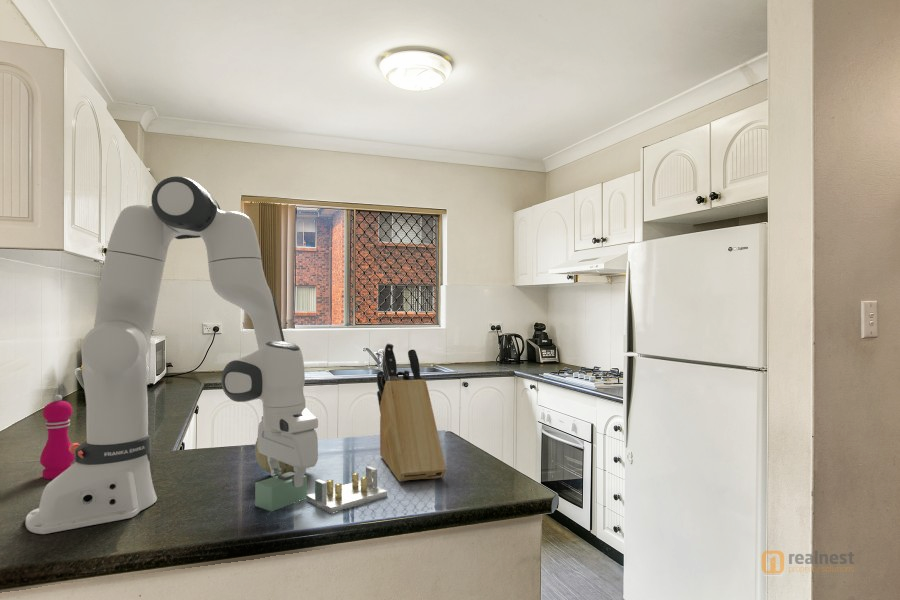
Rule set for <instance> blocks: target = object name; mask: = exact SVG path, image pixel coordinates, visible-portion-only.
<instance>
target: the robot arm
mask: <svg viewBox="0 0 900 600" xmlns="http://www.w3.org/2000/svg"><path fill="white" fill-rule="evenodd" d="M197 238H199V239H200V238H201V239H202V240H203V242H204V244H205V249H206V256H207V263H208V273H209V279H210V282H211V286H212V288H213V290H214V292H215V293H217V295H218V296H219V297H220V298H222V299H223V300H225V301H226V302H228V303H230V304H233V305H235V306H237V307H238V308H240V309H242V310H243V311H244V312H245V313H246V314H247V315H248V316H249V318H250V319H251V323H252V326H253V331H254V335H255V339H256V344H257V347H258V349H257V350H256V351H254V352H252V353H250V354H247V355H245V356H241V357H238V358H237V359H233V360H231V361H230V362H228V363H227V364H226V365H225V367H224V368H223V371H222V373H221V376H220V382H221V384H220V385H221V388H222V391H223V392H224V394H225V395H226V396H227V398H229V399H230V400H231V401H233V402H238V403H247V402H252V401H255V400H261V401H262V416H261V419H260V420H261V421H260V422H259V423H258V428H257V437H258V442H257V446H258V450H259V453H261V454H263V455H266V456H267V460H268V463H269V466H270V468H271V473H270V476H271V477H275V476H278V475H281V468H280V467H279V462H278V461H281V462H283V463H286V464H288V465H291V466H293V467H294V471H295V475H294V478H292V485H293V486H295V487H300V486H302V485H303V477H304V476H305V474H306V472H307V470H308V469H310V468H314V467H315V466H316V465H317V463H318V459H319V445H318V443H319V442H318V433H317V432H316V430H315V429H318V427H319V420H318V418H317V417H316V416H315V414H313V413H312V412H311V411H310V410H309V409H308V407H306V406H307V405H306V398H305V394H304V388H305V387H304V386H305V382H306V380H305V377H306V376H305V372H306V371H305V363H304V362H305V361H304V357H303V352H302V350H301V348H300V347H299V346H298V345H297V344H296V343H293V342H290V341H289V342H288V341H286V340H285V336H284V332H283V328H282V324H281V319H280V314H279V311H278V306H277V302H276V299H275V296H274V294H273V292H272V290H271V288H270V287H269V285H268V282H267V279H266V275H265V273H264V268H263V267H264V266H263V261H262V254H261V247H260V243H259V240H258V239H259V238H258V235H257V232H256V229H255V225H254V223H253V220H252V219H251V218H250V216H248V215H247V214H245V213H242V212H239V211H233V210H229V211H228V210H227V211H226V210H221V208H220V205H219V203H218V202H217V200H216V199H215V198H214V196H213V195H212V194H211V192H210V191H208V190H207V189H206V188H205V187H202V185H200V184H199V183H198V182H196V181H195V180H193V179H191V178H189V177H184V176H179V175H178V176H177V175H176V176H171V177H170V176H169V177H167V178H165V179H164V178H163V179H162V180H161V181H160V182H159V183H158V184H156V186H155V187H154V189H153V191H152V193H151V206H148V205H143V204H135V205H134V204H133V205H129V206H127V207H125V208H124V209H122V210H121V212H119V215H118V217H117V219H116V221H115V224H114V226H113V228H112V231H111V233H110V237H109V241H108V242H107V243H108V244H107V248H106V253H105V257H104V261H103V267H102V269H101V270H102V271H101V274H100V275H101V276H100V280H99V285H98V288H97V289H98V291H97V302H96V303H97V304H96V311H95V312H96V313H95V318H94V324H93V325H94V326H93V328H92V329H90V330H89V331H88V332H87V333H86V335H85V336H84V338H83V340H82V343H81V349H80V350H81V365H82V366H81V367H82V368H81V369H82V378H83V387H84V396H85V404H86V405H85V409H86V411H85V412H86V413H85V414H86V415H85V416H86V418H85V419H86V420H85V422H86V424H85V425H86V441H84V442H82V443H81V444H79V443H78V442H73V443H71V445H72V446H69V447H70V448H69V451H70V452H71V453H72V454H74V455H75V460H74V463H72V464H71V466H70V467H69V468H67V469H66V470H65V471H64V472H62V473H61V474H60V475H59V476H57V477H56V478H55V479H51V481H49V482H47V484H46V486H45V488H44V489H43V491H42V493H41V496H40V501H39V506H38V507H37V508H35V509H33V510H31V511H30V512H28V514H27V515H26V516H25V527H26V529H27V530H28V531H29V532H31V533H33V534H39V535H46V534H51V533H57V532H62V531H68V530H73V529H79V528H84V527H89V526H93V525H100V524H105V523H111V522H116V521H121V520H126V519H130V518H131V519H132V518H133V517H134V518H135V516H137V515H138V514H139V513H140V512H141V511H143V510H145V509H147V508H149V507H151V506H152V505H154V503H156V502H157V500H158V497H157V494H156V491H155V488H154V484H153V480H152V474H151V468H150V467H151V465H150V461H151V456H152V441H151V440H152V439H151V435H150V434H149V397H148V382H147V380H148V379H147V360H146V359H147V354H148V352H149V349H150V345H151V344H150V343H151V339H152V332H153V328H154V327H153V326H154V322H155V316H156V310H157V305H158V300H159V293H160V290H161V286H162V285H161V284H162V280H163V276H164V270H165V264H166V259H167V256H168V255H167V254H168V252H169V251H168V250H169V246H170V245H171V242H172V241H173V240H174V239H176V240H185V239H197Z"/></svg>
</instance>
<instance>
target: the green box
mask: <svg viewBox="0 0 900 600" xmlns="http://www.w3.org/2000/svg"><path fill="white" fill-rule="evenodd" d="M294 475H295V473H293V472H287V473H284V474H281V475H278V476H275V477H273V476H271V477H270V478H266V479H263V480H260V481H256V482H255V483H254V491H255V492H254V495H255V496H254V497H255V498H254V500H255V502H254V503H255V505H254V506H255V507H258V508H261V509H263V510H267V511H268V512H271V513H272V512H274V511H277V510H279V509H283V508H285V507H288V506H290V505H292V504H291V503H293V504H295V503H294V502H296V503H297V501H298V502H300V501H299V500H301V501H303V500H302V499H304V500H306V499H305V498H306V495H308V488H307V487H308V486H307V485H308V483H307V481H308V477H307V476H308V475H304V477H303V485H302V486H300V487H295V486H293V485H292V478H294ZM289 504H290V505H289ZM287 505H288V506H287ZM284 506H285V507H284Z"/></svg>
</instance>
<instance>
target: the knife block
mask: <svg viewBox="0 0 900 600" xmlns="http://www.w3.org/2000/svg"><path fill="white" fill-rule="evenodd" d="M407 356H408V361H409V366H410V370H411V373H412V376H413V379H411V377H410V371H409V370H404V371H398V370H397V367H398V366H397V360H396V356H395V353H394V345H393V344H392V343H386V345H385V347H384V352H383V356H382V357H383V358H382V371H380V370H379V371H377V374H376V386H377V388H378V391H376V397H377V401H378V407H379V413H380V414H379V415H380V416H379V428H380V429H379V452H380V453H379V454H380V457H381V458H382V459H383V461H384V462H385V463H386V465H387V466H388V468H389V469H390V470H391V472H392V474H393V475H394V477H395V478H396V479H397V480H398V482H406V481H411V480H415V481H416V480H427V479H428V480H429V479H438V478H443V477H444V476H445V474H446V473H447V468H446V465H445V460H444V455H443V451H442V445H441V441H440V437H439V432H438V428H437V425H436V420H435V419H436V418H435V415H434V410H433V406H432V405H433V404H432V402H431V397H430V393H429V388H428V384H427V381H426V379H423V378H421V369H420V360H419V357H418V354H417V351H416V350H415V349H409V350H408V352H407ZM397 371H398V372H397ZM399 376H402V378H400V377H399Z"/></svg>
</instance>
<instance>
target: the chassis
mask: <svg viewBox="0 0 900 600" xmlns="http://www.w3.org/2000/svg"><path fill="white" fill-rule="evenodd" d="M386 497H388V490H387V489H384V488H381V487H379V486H378V469H377V468H375V467H374V466H370V465H368V466H366V467H365V476H361V477H360V480H359V473H358V472H354V473H352V474H351V482H349V483H346V484H343V483H339V482H338V483H336V484H334V479H327V480H326V481H325V480H322V479H315V480H314V492H312V493H309V494H307V495H306V499H305V500H307V501H306V502H309V503H310V504H312V505H313V504H314V505H313V506H316V507H317V508H319V507H320V508H319V509H320V510H323V511H325V512H326V511H327V513H328V512H329V514H330V513H332V514H334V513H333V512H335V513H337V512H336V511H338V512H341V511H340V510H342V511H344V510H343V509H345V510H347V508H348V509H351V508H353V507H354V508H355V507H357V506H361V505H364V504H367V503H370V502H373V501H377V500H381V499H383V498H386Z"/></svg>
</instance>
